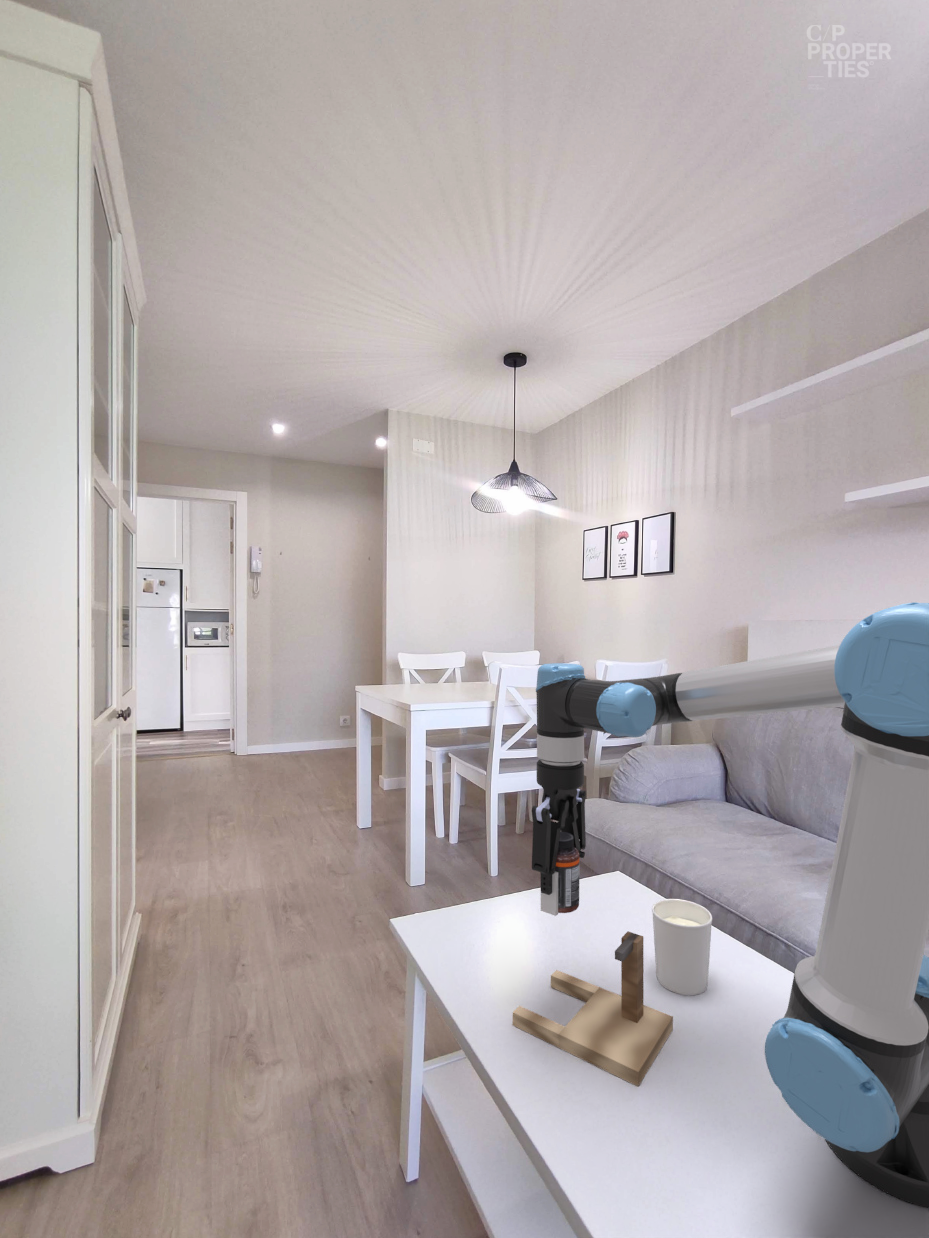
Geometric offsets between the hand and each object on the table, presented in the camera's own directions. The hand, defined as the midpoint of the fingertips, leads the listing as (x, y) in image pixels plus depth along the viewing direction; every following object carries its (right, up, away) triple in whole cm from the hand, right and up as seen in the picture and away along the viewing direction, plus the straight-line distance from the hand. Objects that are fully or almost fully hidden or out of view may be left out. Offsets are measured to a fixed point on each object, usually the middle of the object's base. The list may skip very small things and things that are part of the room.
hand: (559, 903), depth 96 cm
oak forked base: (+4, -17, -4) cm, 18 cm away
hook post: (+9, -15, -6) cm, 19 cm away
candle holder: (+22, -17, +8) cm, 29 cm away
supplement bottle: (0, 0, 0) cm, 0 cm away
